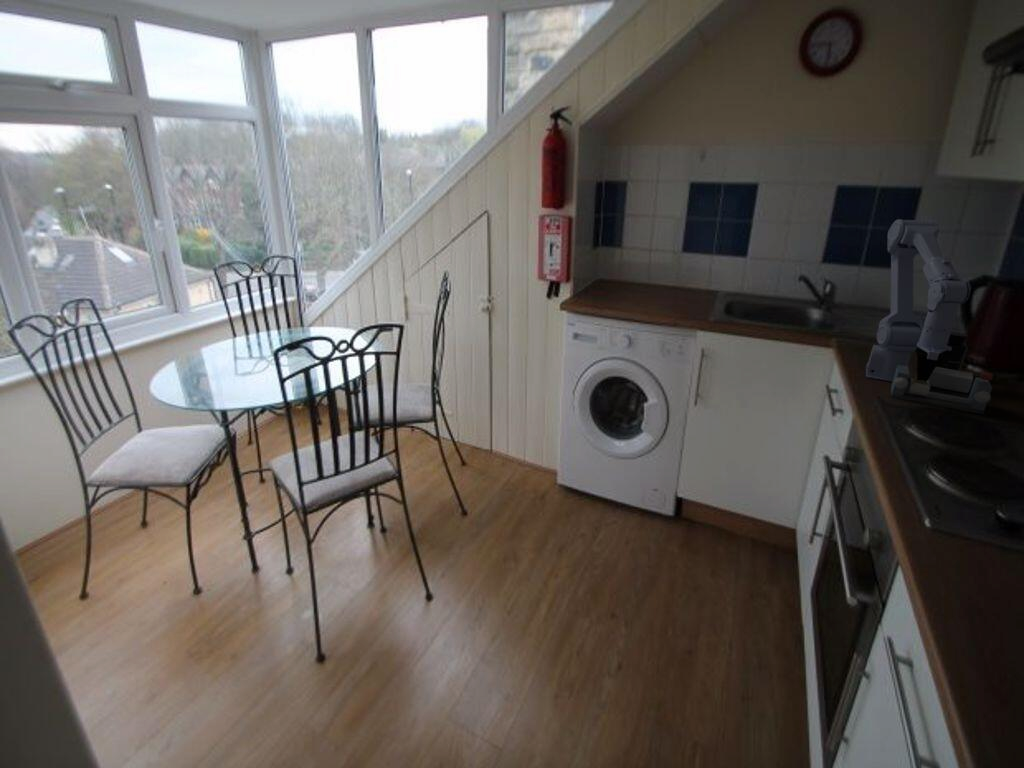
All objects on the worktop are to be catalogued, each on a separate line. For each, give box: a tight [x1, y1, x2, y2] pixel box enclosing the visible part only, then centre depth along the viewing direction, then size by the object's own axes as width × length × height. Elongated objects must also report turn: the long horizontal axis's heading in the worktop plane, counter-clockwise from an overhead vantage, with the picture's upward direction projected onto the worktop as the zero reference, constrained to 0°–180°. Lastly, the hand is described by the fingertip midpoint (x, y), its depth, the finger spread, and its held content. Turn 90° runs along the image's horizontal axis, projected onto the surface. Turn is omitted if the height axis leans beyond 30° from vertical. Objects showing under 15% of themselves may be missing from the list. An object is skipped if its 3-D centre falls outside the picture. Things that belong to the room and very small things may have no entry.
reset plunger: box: [978, 371, 994, 381], centre depth 133 cm, size 2×2×1 cm
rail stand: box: [890, 365, 993, 415], centre depth 139 cm, size 20×8×7 cm, turn 58°
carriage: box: [907, 374, 931, 396], centre depth 140 cm, size 4×5×7 cm
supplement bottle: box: [936, 331, 968, 371], centre depth 157 cm, size 7×7×12 cm
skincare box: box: [927, 367, 974, 394], centre depth 149 cm, size 6×4×12 cm
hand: (921, 378), depth 140 cm, fingers closed on carriage, 2 cm apart
